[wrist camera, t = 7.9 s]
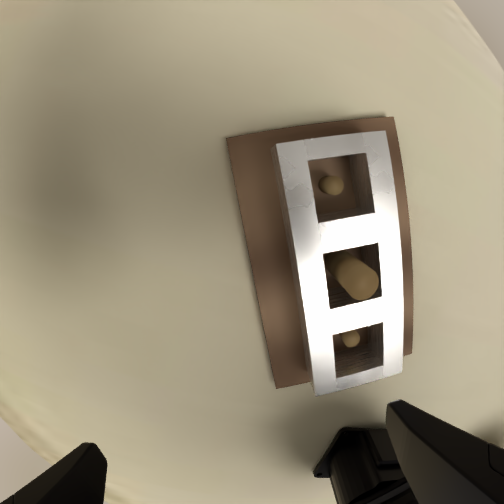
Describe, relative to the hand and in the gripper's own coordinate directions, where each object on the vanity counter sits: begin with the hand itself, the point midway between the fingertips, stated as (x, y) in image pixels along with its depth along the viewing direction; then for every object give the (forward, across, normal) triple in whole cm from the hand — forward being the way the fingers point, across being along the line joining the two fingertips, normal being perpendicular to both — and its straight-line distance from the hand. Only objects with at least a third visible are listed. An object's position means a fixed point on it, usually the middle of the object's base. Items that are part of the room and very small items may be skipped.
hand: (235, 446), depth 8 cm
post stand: (+12, -6, -1) cm, 14 cm away
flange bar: (+11, -6, -1) cm, 13 cm away
